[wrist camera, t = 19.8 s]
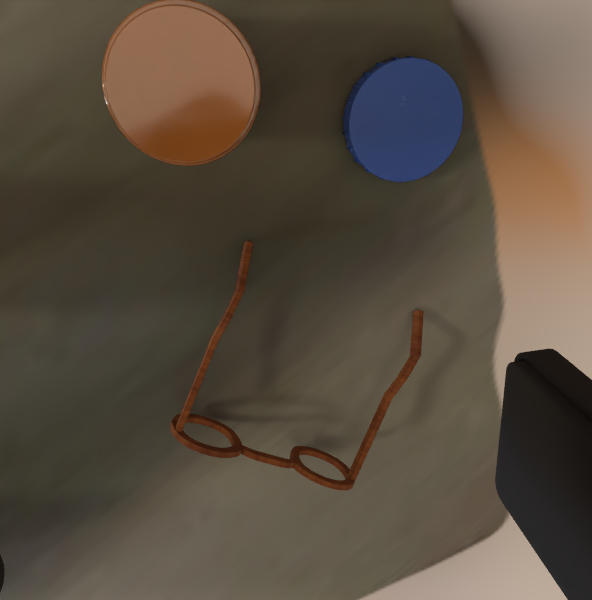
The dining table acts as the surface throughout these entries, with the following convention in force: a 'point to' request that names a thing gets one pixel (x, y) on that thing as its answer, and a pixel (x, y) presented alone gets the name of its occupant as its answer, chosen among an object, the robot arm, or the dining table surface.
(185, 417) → the glasses
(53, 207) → the dining table surface
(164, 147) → the jar
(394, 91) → the lid
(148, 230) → the dining table surface
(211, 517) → the dining table surface
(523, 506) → the robot arm
